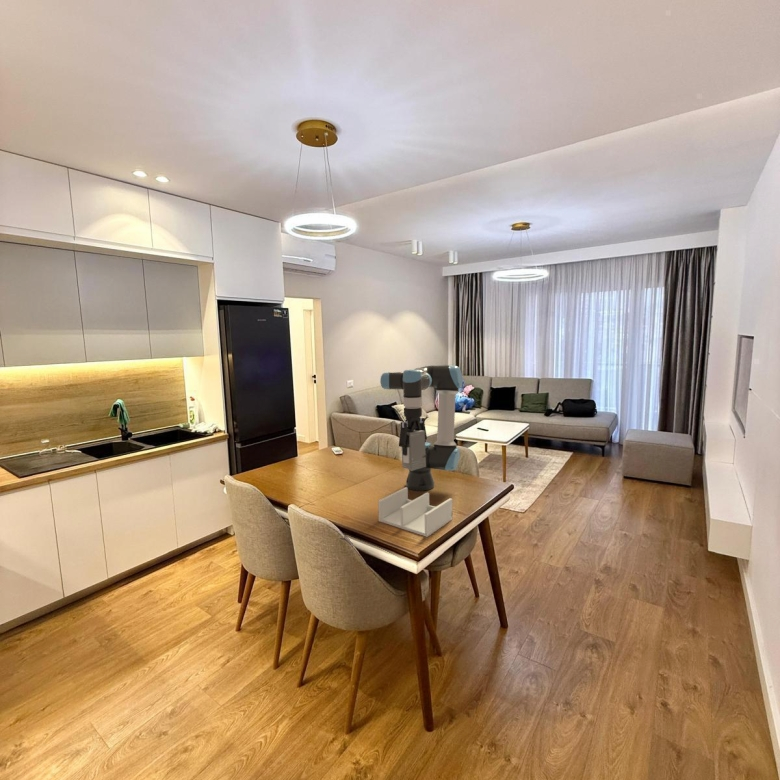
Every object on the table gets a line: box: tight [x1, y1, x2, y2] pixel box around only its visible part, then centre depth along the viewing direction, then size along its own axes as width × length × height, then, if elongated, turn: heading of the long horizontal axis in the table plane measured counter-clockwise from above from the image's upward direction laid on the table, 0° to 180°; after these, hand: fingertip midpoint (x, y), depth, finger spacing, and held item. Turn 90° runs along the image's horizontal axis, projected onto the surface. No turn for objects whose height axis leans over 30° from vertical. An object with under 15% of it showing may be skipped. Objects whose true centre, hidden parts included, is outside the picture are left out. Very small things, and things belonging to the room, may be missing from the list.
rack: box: [377, 486, 453, 538], centre depth 176 cm, size 20×25×9 cm
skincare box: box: [401, 430, 426, 471], centre depth 171 cm, size 8×7×16 cm
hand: (413, 459), depth 171 cm, fingers closed on skincare box, 9 cm apart
